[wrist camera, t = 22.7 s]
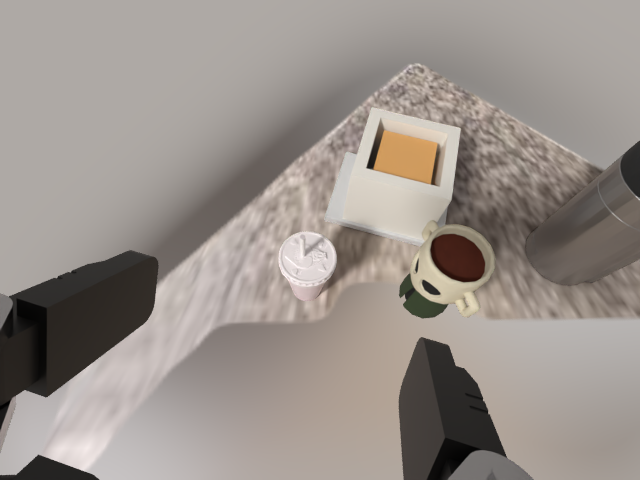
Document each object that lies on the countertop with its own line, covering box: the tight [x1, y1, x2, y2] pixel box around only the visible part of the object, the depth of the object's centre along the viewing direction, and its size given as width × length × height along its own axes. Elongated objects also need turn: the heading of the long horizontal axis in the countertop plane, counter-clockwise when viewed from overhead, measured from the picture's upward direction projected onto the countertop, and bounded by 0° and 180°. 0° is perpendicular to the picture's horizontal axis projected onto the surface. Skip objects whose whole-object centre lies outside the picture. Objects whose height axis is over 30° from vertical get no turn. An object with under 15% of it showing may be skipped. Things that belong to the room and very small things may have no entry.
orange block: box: [373, 130, 437, 185], centre depth 48 cm, size 7×7×8 cm
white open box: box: [324, 107, 461, 247], centre depth 49 cm, size 17×13×11 cm
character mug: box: [399, 220, 496, 318], centre depth 41 cm, size 11×7×13 cm, turn 17°
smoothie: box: [279, 231, 337, 301], centre depth 40 cm, size 6×6×14 cm
